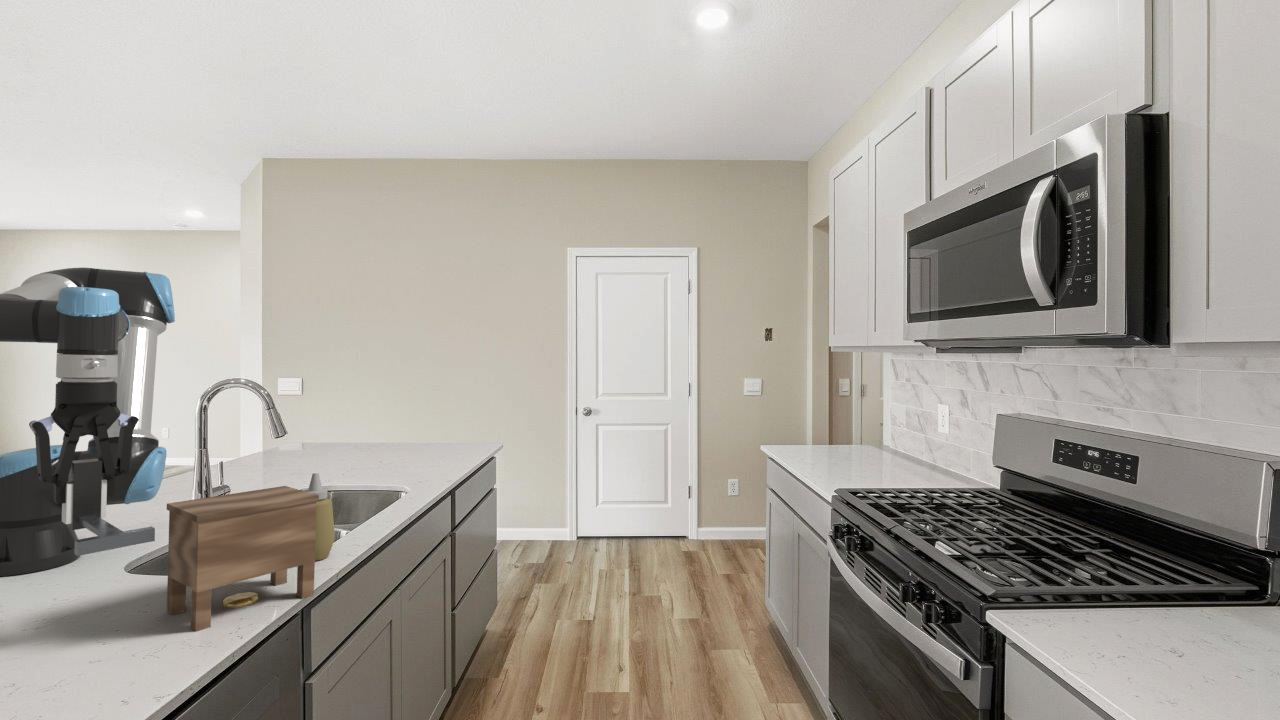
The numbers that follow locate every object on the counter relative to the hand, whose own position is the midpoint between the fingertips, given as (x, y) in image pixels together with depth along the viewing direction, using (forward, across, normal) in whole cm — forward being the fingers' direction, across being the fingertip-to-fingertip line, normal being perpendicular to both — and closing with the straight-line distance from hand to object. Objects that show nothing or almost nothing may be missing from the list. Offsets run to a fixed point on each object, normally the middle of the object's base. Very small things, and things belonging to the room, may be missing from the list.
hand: (84, 519), depth 99 cm
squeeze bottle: (+15, +36, -5) cm, 39 cm away
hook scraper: (+1, 0, -8) cm, 8 cm away
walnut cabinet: (+15, +17, -19) cm, 29 cm away
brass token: (+15, +17, -18) cm, 29 cm away
